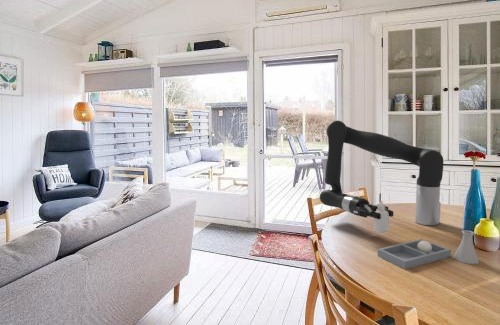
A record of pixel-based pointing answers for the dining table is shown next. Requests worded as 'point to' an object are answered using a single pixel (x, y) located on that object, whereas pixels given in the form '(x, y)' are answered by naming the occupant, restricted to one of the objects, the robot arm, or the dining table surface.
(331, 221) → the dining table surface
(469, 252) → the flask
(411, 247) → the holder
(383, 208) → the eye dropper bottle
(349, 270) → the dining table surface
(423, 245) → the ceramic egg
